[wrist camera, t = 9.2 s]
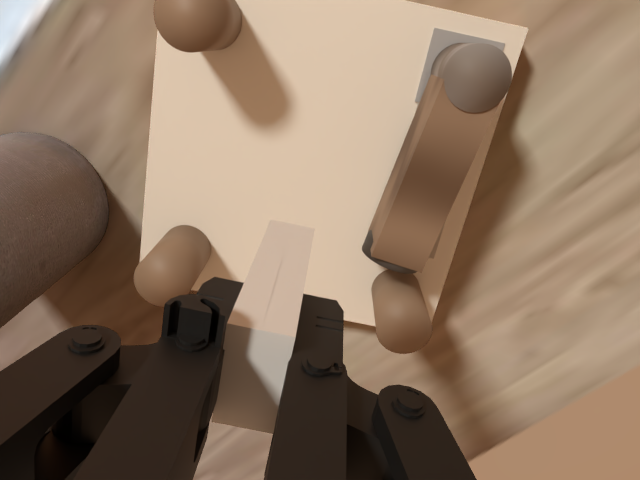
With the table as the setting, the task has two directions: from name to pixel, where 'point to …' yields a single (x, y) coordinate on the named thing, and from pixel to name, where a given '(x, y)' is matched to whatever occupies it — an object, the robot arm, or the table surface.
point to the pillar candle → (44, 216)
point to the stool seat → (297, 145)
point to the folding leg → (437, 154)
